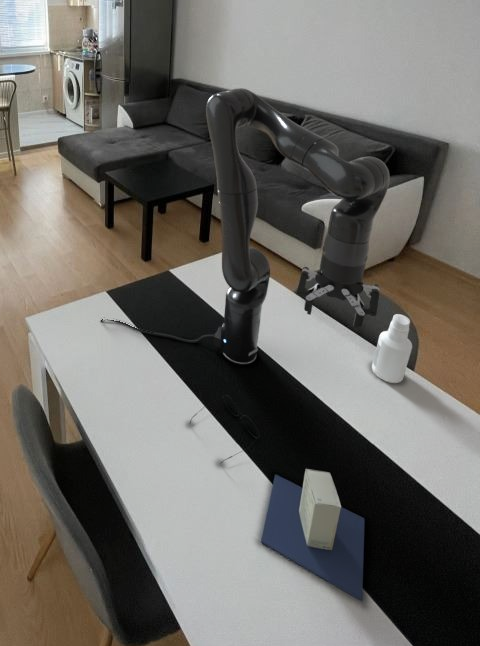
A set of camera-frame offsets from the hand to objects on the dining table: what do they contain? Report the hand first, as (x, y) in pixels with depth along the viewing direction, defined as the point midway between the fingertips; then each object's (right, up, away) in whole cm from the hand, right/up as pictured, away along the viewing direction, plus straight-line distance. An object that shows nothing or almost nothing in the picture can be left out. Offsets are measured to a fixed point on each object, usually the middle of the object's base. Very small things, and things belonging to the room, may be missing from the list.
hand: (331, 318), depth 91 cm
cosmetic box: (-9, -37, -10) cm, 39 cm away
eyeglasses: (-20, -30, +9) cm, 37 cm away
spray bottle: (+27, -22, +22) cm, 41 cm away
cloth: (-9, -37, -10) cm, 39 cm away
